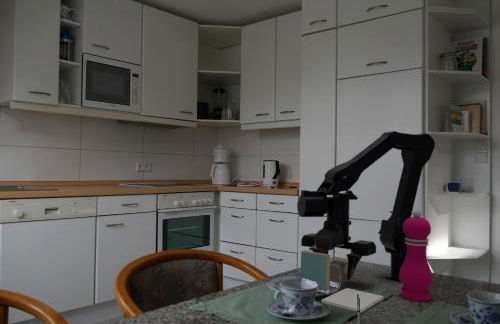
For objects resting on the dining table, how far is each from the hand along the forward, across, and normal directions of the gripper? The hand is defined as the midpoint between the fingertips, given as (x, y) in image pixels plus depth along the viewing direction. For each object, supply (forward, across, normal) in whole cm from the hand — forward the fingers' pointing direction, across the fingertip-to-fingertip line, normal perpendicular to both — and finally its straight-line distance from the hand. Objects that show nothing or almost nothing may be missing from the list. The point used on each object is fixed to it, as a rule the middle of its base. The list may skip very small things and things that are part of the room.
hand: (336, 277), depth 106 cm
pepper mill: (+1, +20, +1) cm, 20 cm away
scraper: (+1, 0, 0) cm, 1 cm away
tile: (+1, 0, -11) cm, 11 cm away
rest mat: (+1, +10, -12) cm, 15 cm away
